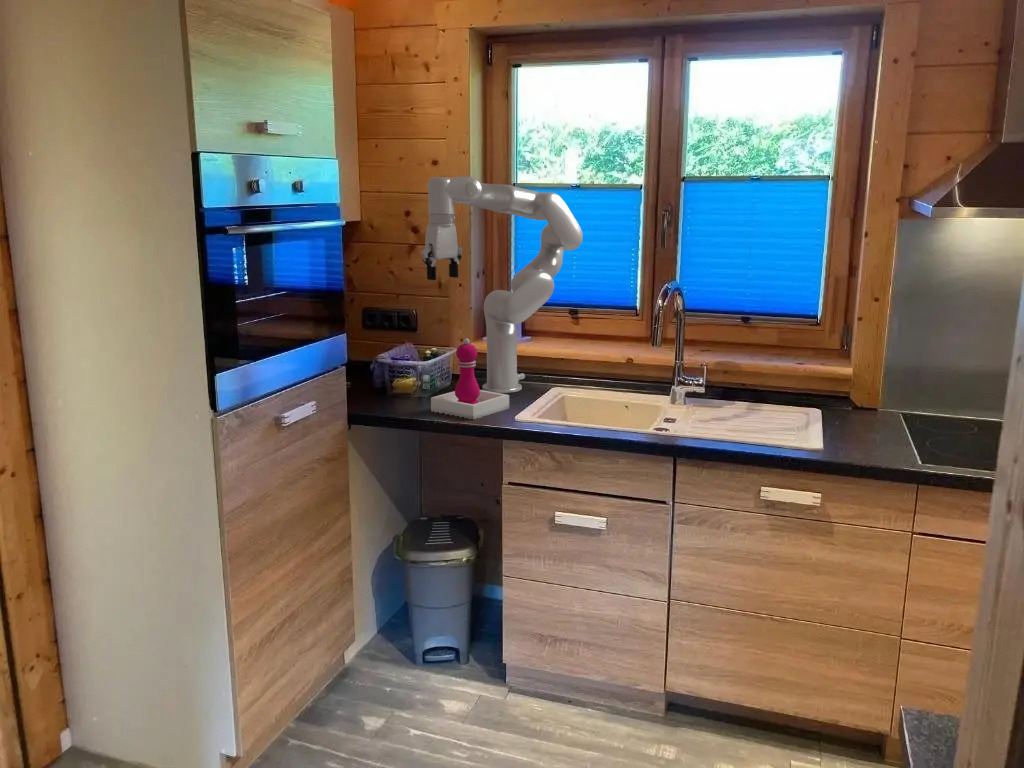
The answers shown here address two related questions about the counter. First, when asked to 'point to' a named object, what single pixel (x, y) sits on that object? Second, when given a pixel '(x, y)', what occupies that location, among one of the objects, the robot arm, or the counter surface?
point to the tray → (470, 405)
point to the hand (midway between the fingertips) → (442, 278)
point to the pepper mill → (467, 374)
